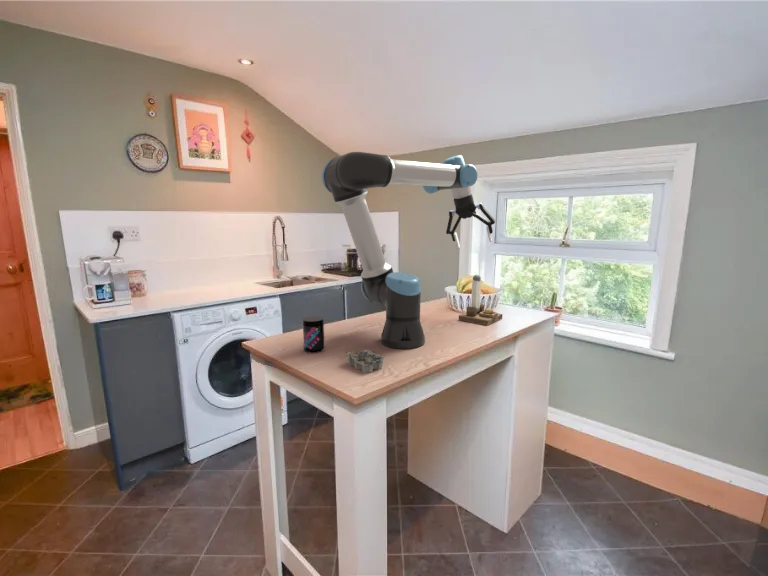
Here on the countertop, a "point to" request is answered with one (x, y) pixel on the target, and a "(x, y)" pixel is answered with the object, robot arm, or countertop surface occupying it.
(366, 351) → the egg carton
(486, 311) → the walnut
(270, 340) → the countertop surface
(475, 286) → the lever
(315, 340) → the supplement container
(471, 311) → the base
